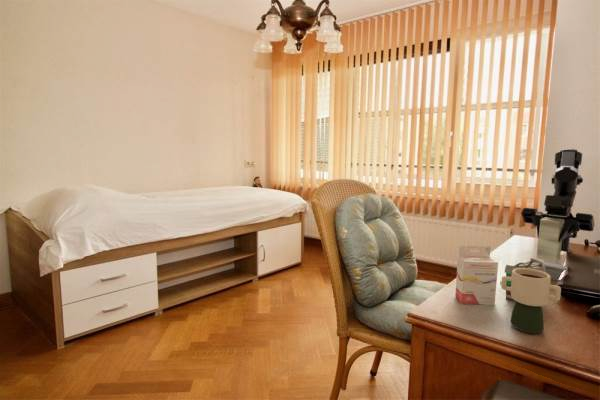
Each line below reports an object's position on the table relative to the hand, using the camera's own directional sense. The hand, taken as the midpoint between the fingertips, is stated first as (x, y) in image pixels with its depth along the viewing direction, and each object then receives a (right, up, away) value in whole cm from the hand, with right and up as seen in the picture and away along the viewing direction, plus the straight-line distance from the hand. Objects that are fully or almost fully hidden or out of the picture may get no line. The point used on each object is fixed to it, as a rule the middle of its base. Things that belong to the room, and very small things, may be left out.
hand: (548, 239), depth 108 cm
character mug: (-28, -17, -31) cm, 45 cm away
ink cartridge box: (-32, -15, -17) cm, 39 cm away
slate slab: (+1, -12, +2) cm, 12 cm away
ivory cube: (+10, -10, +11) cm, 18 cm away
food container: (-18, -15, -17) cm, 28 cm away
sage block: (+1, -6, +2) cm, 7 cm away
